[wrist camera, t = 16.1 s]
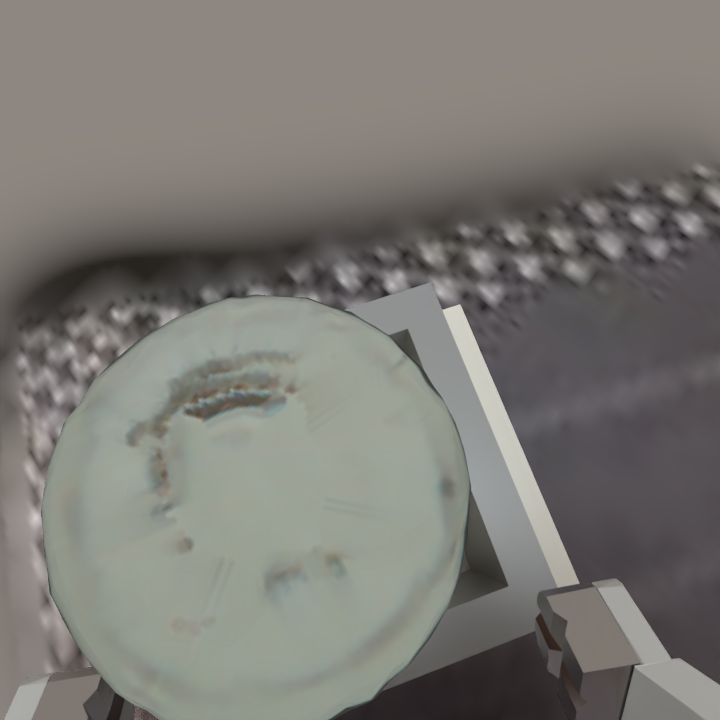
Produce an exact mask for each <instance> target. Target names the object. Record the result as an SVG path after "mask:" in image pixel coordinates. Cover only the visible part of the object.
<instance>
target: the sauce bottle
mask: <svg viewBox="0 0 720 720" xmlns="http://www.w3.org/2000/svg"><path fill="white" fill-rule="evenodd" d="M470 498H471V483H470V477H469V472H468V466H467V461H466V455H465V451H464V447H463V444H462V441H461V438H460V435H459V432H458V429H457V426H456V422H455V421H454V419H453V417H452V415H451V413H450V411H449V409H448V407H447V405H446V404H445V402H444V400H443V398H442V397H441V395H440V394H439V393H438V391H437V390H436V388H435V387H434V386H433V384H432V383H431V381H430V379H429V378H428V376H427V374H426V373H425V371H424V369H423V368H422V367H421V366H420V365H419V364H418V363H416V362H415V361H414V360H413V359H412V358H411V357H410V356H409V355H408V354H407V353H406V352H405V351H403V350H402V349H401V347H400V346H399V345H398V344H397V343H396V342H395V341H394V340H393V338H392V337H391V336H389V335H388V334H386V333H384V332H383V331H381V330H380V329H378V328H377V327H375V326H374V325H372V324H370V323H368V322H366V321H364V320H363V319H361V318H360V317H358V316H357V315H355V314H354V313H352V312H351V311H346V310H341V309H337V308H333V307H330V306H328V305H325V304H322V303H320V302H317V301H314V300H312V299H309V298H298V297H275V296H266V295H250V296H240V297H231V298H227V299H224V300H220V301H217V302H213V303H210V304H208V305H206V306H204V307H202V308H200V309H198V310H196V311H194V312H191V313H188V314H185V315H183V316H180V317H177V318H175V319H173V320H171V321H170V322H168V323H166V324H165V325H163V326H161V327H160V328H158V329H156V330H155V331H153V332H151V333H149V334H148V335H146V336H144V337H143V338H141V339H139V340H138V341H137V342H136V343H135V344H134V345H132V346H131V347H130V348H129V349H128V350H126V351H125V352H124V353H123V354H122V355H120V356H119V357H118V358H117V359H116V360H115V361H113V362H112V363H111V364H110V365H109V366H108V367H107V368H106V369H105V370H104V371H103V372H102V373H101V374H100V375H99V376H98V377H97V378H96V379H95V380H94V381H93V383H92V384H91V386H90V388H89V389H88V391H87V392H86V394H85V396H84V397H83V399H82V400H81V402H80V404H79V405H78V406H77V407H76V409H75V410H74V411H73V412H72V414H71V415H70V416H69V417H68V418H67V420H66V421H65V423H64V425H63V428H62V430H61V433H60V436H59V439H58V442H57V444H56V447H55V449H54V452H53V454H52V457H51V459H50V462H49V467H48V471H47V476H46V482H45V488H44V494H43V500H42V508H41V517H42V525H43V537H44V552H45V557H46V561H47V571H48V581H49V591H50V595H51V597H52V598H53V600H54V602H55V604H56V606H57V608H58V610H59V612H60V614H61V616H62V618H63V620H64V622H65V624H66V626H67V628H68V630H69V632H70V633H71V635H72V637H73V639H74V641H75V642H76V644H77V645H78V647H79V648H80V649H81V651H82V652H83V654H84V655H85V657H86V658H87V660H88V661H89V663H90V664H91V665H92V667H93V668H94V669H95V670H96V671H97V672H98V673H99V674H100V676H101V677H102V678H103V679H104V680H105V681H106V682H107V683H108V684H109V686H110V687H111V688H112V689H113V690H114V691H115V692H116V693H117V694H119V695H120V696H122V697H123V698H124V699H126V700H127V701H129V702H130V703H132V704H133V705H136V706H138V707H140V708H143V709H145V710H147V711H148V712H149V713H151V714H152V715H153V716H155V717H156V718H157V719H159V720H333V719H335V718H337V717H339V716H341V715H343V714H345V713H347V712H349V711H351V710H353V709H355V708H358V707H360V706H362V705H365V704H367V703H369V702H371V701H374V700H375V698H376V697H377V696H378V695H379V694H380V692H381V691H382V690H383V689H384V688H385V686H386V685H387V684H388V683H389V682H390V681H391V680H392V679H393V678H394V677H396V676H397V675H398V674H399V673H401V672H402V671H403V670H404V669H406V668H407V667H408V665H409V664H410V663H411V662H412V661H413V660H414V658H415V657H416V656H417V655H418V653H419V652H420V651H421V649H422V648H423V647H424V646H425V644H426V643H427V642H428V640H429V639H430V638H431V637H432V635H433V633H434V631H435V630H436V628H437V626H438V624H439V623H440V621H441V619H442V617H443V616H444V614H445V612H446V610H447V608H448V606H449V603H450V601H451V599H452V596H453V594H454V591H455V589H456V587H457V584H458V582H459V579H460V574H461V569H462V565H463V560H464V555H465V551H466V546H467V538H468V524H469V511H470Z"/></svg>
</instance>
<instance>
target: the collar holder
mask: <svg viewBox="0 0 720 720" xmlns="http://www.w3.org/2000/svg"><path fill="white" fill-rule="evenodd" d="M345 310H346V311H351V312H352V313H354V314H355V315H357V316H358V317H360V318H361V319H363V320H364V321H366V322H368V323H370V324H372V325H374V326H375V327H377V328H378V329H380V330H381V331H383V332H384V333H386V334H388V335H389V336H391V337H392V338H393V340H394V341H395V342H396V343H397V344H398V345H399V346H400V347H401V349H402V350H403V351H405V352H406V353H407V354H408V355H409V356H410V357H411V358H412V359H413V360H414V361H415V362H416V363H418V364H419V365H420V366H421V367H422V368H423V369H424V371H425V373H426V374H427V376H428V378H429V379H430V381H431V383H432V384H433V386H434V387H435V388H436V390H437V391H438V393H439V394H440V395H441V397H442V398H443V400H444V402H445V404H446V405H447V407H448V409H449V411H450V413H451V415H452V417H453V419H454V421H455V422H456V426H457V429H458V432H459V435H460V438H461V441H462V444H463V447H464V451H465V455H466V461H467V466H468V472H469V477H470V483H471V498H470V511H469V524H468V538H467V546H466V551H465V555H464V560H463V565H462V569H461V574H460V579H459V582H458V584H457V587H456V589H455V591H454V594H453V596H452V599H451V601H450V603H449V606H448V608H447V610H446V612H445V614H444V616H443V617H442V619H441V621H440V623H439V624H438V626H437V628H436V630H435V631H434V633H433V635H432V637H431V638H430V639H429V640H428V642H427V643H426V644H425V646H424V647H423V648H422V649H421V651H420V652H419V653H418V655H417V656H416V657H415V658H414V660H413V661H412V662H411V663H410V664H409V665H408V667H407V668H406V669H404V670H403V671H402V672H401V673H399V674H398V675H397V676H396V677H394V678H393V679H392V680H391V681H390V682H389V683H388V684H387V685H386V686H385V688H384V689H383V690H382V691H384V690H387V689H389V688H392V687H394V686H397V685H400V684H402V683H405V682H407V681H410V680H412V679H415V678H417V677H420V676H422V675H425V674H427V673H430V672H433V671H435V670H438V669H440V668H443V667H445V666H448V665H450V664H453V663H455V662H458V661H460V660H463V659H466V658H468V657H471V656H473V655H476V654H478V653H481V652H483V651H486V650H488V649H491V648H493V647H496V646H499V645H501V644H504V643H506V642H509V641H511V640H514V639H516V638H519V637H521V636H524V635H526V634H529V633H532V632H534V631H535V618H536V617H537V616H538V615H539V614H540V613H541V612H540V609H539V607H538V605H537V595H538V593H539V592H540V591H543V590H548V589H554V588H559V587H564V586H570V585H575V584H580V583H579V581H578V579H577V576H576V574H575V572H574V569H573V567H572V565H571V562H570V560H569V557H568V555H567V553H566V550H565V548H564V546H563V543H562V541H561V539H560V536H559V534H558V532H557V529H556V527H555V525H554V522H553V520H552V518H551V515H550V513H549V511H548V508H547V506H546V504H545V501H544V499H543V497H542V494H541V492H540V490H539V487H538V485H537V483H536V480H535V478H534V476H533V473H532V471H531V469H530V466H529V464H528V462H527V459H526V457H525V455H524V452H523V450H522V448H521V445H520V443H519V441H518V438H517V436H516V434H515V431H514V429H513V427H512V424H511V422H510V420H509V417H508V415H507V413H506V410H505V408H504V406H503V403H502V401H501V399H500V396H499V394H498V391H497V389H496V387H495V384H494V382H493V380H492V377H491V375H490V373H489V370H488V368H487V366H486V363H485V361H484V359H483V356H482V354H481V352H480V349H479V347H478V345H477V342H476V340H475V338H474V335H473V333H472V331H471V328H470V326H469V324H468V321H467V319H466V317H465V314H464V312H463V310H462V307H461V305H457V306H454V307H450V308H447V309H444V310H442V308H441V306H440V304H439V301H438V299H437V296H436V294H435V292H434V289H433V287H432V284H431V283H428V284H424V285H421V286H418V287H415V288H412V289H409V290H405V291H402V292H399V293H396V294H393V295H390V296H386V297H383V298H380V299H377V300H374V301H371V302H367V303H364V304H361V305H358V306H355V307H352V308H348V309H345ZM382 691H381V692H382Z"/></svg>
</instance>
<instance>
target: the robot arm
mask: <svg viewBox="0 0 720 720" xmlns="http://www.w3.org/2000/svg"><path fill="white" fill-rule="evenodd" d="M537 605H538V607H539V609H540V612H541V613H540V614H539V615H538V616H537V617H536V618H535V632H536V638H537V644H538V647H539V650H540V653H541V656H542V659H543V661H544V664H545V666H546V668H547V670H548V671H549V672H551V673H552V674H553V675H554V676H556V677H557V678H558V679H559V683H558V692H557V694H558V697H559V699H560V701H561V703H562V706H563V708H564V710H565V713H566V715H567V717H568V720H720V685H719V684H717V683H716V682H715V681H713V680H712V679H710V678H709V677H707V676H706V675H704V674H703V673H701V672H700V671H698V670H697V669H695V668H694V667H692V666H691V665H689V664H688V663H686V662H685V661H683V660H682V659H680V658H675V659H671V657H670V656H669V654H668V653H667V651H666V650H665V648H664V647H663V645H662V643H661V642H660V640H659V639H658V637H657V636H656V634H655V633H654V631H653V630H652V628H651V627H650V625H649V624H648V622H647V621H646V619H645V618H644V616H643V614H642V613H641V611H640V610H639V608H638V607H637V605H636V604H635V602H634V601H633V599H632V598H631V596H630V595H629V593H628V592H627V590H626V589H625V587H624V585H623V584H622V583H621V582H620V581H619V580H617V579H613V578H612V579H606V580H601V581H596V582H591V583H588V582H586V583H580V584H575V585H570V586H564V587H559V588H554V589H548V590H543V591H540V592H539V593H538V595H537ZM4 720H134V705H133V704H132V703H130V702H129V701H127V700H126V699H124V698H123V697H122V696H120V695H119V694H117V693H116V692H115V691H114V690H113V689H112V688H111V687H110V686H109V684H108V683H107V682H106V681H105V680H104V679H103V678H102V677H101V676H100V674H99V673H98V672H97V671H96V670H95V669H94V668H93V667H89V668H83V669H77V670H70V671H64V672H55V673H49V674H44V675H38V676H32V677H27V678H26V679H25V681H24V682H23V683H22V684H21V685H20V686H19V688H18V689H17V692H16V694H15V696H14V698H13V700H12V703H11V705H10V707H9V709H8V711H7V714H6V716H5V718H4Z"/></svg>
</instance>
